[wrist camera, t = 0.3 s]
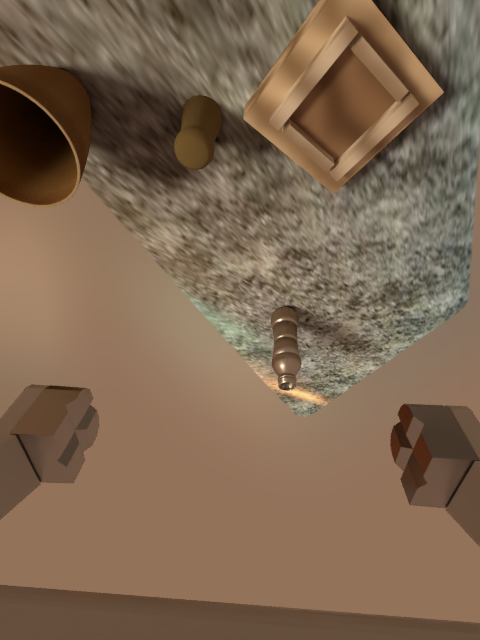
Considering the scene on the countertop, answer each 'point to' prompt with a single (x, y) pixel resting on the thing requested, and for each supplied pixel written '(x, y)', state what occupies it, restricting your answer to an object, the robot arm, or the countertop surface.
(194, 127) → the cork
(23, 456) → the robot arm
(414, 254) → the countertop surface
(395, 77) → the display stand
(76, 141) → the plant pot
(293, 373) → the plastic bottle
